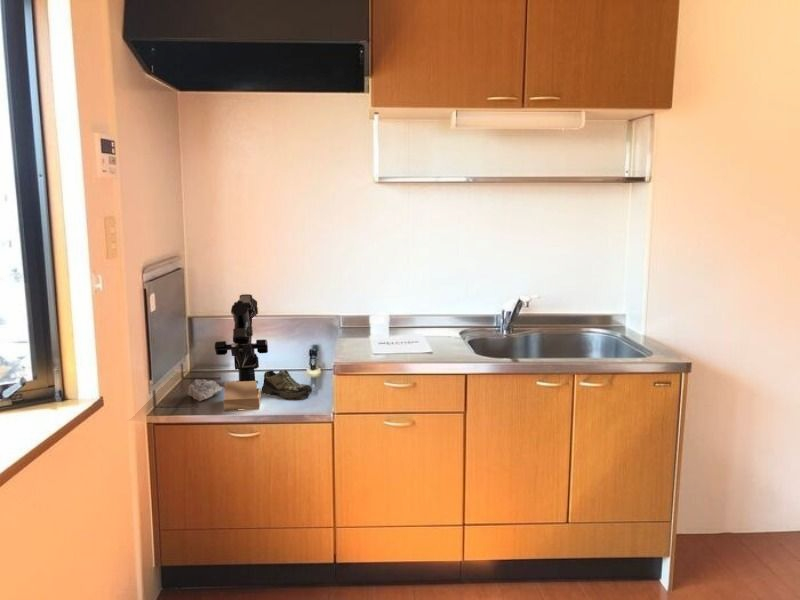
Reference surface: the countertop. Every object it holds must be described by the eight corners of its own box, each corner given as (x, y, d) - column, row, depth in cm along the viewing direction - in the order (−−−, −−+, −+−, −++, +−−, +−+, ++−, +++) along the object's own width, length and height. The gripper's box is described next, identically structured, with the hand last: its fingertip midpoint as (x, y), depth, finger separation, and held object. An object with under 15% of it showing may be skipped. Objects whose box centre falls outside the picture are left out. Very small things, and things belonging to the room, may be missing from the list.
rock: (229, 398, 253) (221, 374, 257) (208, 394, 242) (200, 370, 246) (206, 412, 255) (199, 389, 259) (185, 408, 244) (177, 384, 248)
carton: (227, 400, 247) (227, 389, 246) (260, 398, 249) (260, 388, 248) (224, 411, 235) (223, 400, 235) (259, 409, 237) (258, 398, 236)
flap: (224, 382, 235) (224, 382, 234) (256, 380, 236) (256, 380, 236) (225, 399, 234) (225, 399, 234) (257, 398, 236) (256, 398, 236)
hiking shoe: (303, 402, 245) (303, 377, 243) (255, 394, 254) (254, 370, 252) (315, 395, 253) (315, 371, 251) (268, 388, 261) (267, 365, 260)
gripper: (213, 319, 245) (211, 356, 236) (266, 318, 247) (266, 354, 238) (217, 336, 254) (215, 372, 245) (267, 334, 256) (267, 370, 247)
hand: (241, 367), depth 244 cm, fingers closed
